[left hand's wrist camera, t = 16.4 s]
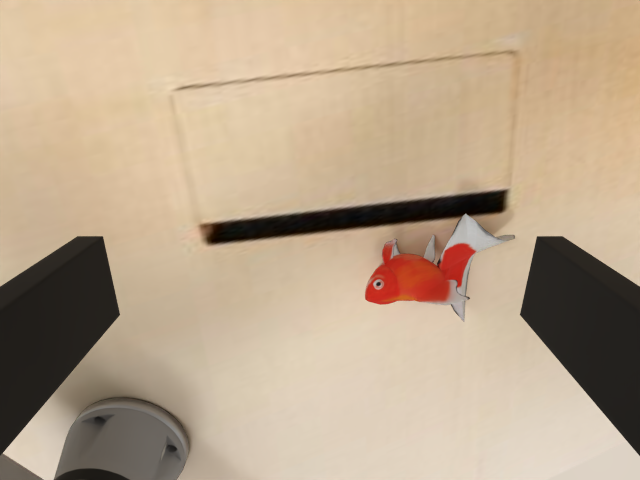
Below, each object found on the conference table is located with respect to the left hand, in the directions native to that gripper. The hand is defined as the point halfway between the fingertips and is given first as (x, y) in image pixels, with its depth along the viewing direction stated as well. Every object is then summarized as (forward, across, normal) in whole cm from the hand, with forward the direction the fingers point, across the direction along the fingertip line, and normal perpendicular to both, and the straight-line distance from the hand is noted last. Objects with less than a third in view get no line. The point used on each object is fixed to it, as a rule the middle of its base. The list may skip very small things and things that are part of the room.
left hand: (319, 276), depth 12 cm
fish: (+29, -12, +11) cm, 33 cm away
